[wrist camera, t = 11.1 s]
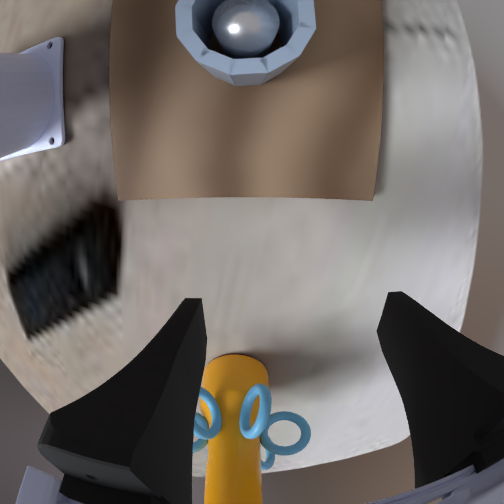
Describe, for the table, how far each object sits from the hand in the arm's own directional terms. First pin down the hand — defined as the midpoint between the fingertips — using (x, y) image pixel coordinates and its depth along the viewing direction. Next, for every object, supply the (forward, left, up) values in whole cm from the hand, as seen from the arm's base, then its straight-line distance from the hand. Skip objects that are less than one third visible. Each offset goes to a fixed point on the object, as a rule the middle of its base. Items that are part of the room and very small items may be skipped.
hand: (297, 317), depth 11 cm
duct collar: (-2, +11, -8) cm, 14 cm away
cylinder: (-3, -15, -10) cm, 18 cm away
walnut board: (-2, +11, -9) cm, 15 cm away
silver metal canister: (-2, +11, -8) cm, 14 cm away
